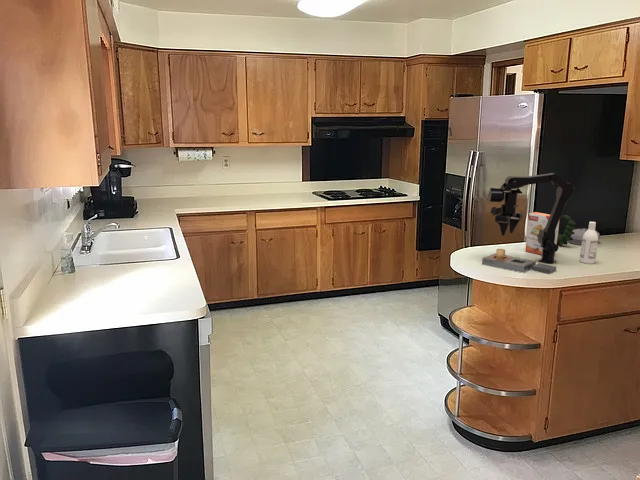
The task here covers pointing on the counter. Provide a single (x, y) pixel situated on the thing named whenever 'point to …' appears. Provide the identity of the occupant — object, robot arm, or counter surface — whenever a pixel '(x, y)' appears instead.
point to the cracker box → (537, 231)
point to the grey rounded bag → (579, 236)
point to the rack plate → (509, 263)
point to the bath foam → (589, 245)
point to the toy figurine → (566, 232)
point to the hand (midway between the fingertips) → (507, 234)
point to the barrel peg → (500, 253)
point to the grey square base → (544, 268)
